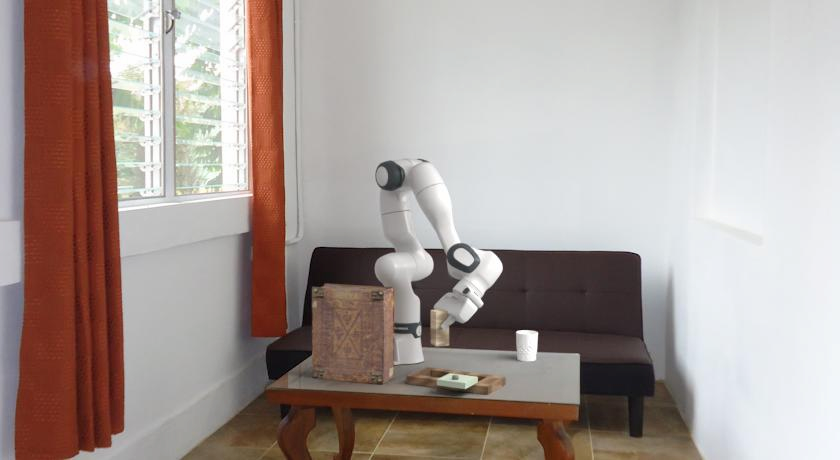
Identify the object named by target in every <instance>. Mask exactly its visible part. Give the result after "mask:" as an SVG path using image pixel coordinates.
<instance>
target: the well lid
mask: <svg viewBox="0 0 840 460" xmlns="http://www.w3.org/2000/svg"><path fill="white" fill-rule="evenodd" d="M476 383H478V377H476V376H468V375H460V374H452V373H449V374H447V375H445V376H443V377H441V378H439V379H437V385H439V386H446V387H454V388H461V389H467V388H468V387H470V386H472V385H474V384H476Z"/></svg>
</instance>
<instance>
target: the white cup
mask: <svg viewBox="0 0 840 460" xmlns="http://www.w3.org/2000/svg"><path fill="white" fill-rule="evenodd" d="M515 338H516V339H515V343H516V354H517V357H516V358H517V361H520V362H527V363H528V362H531V363H532V362H535V361H537V353H538V340H539V332H538V331H536V330H528V329H526V330H525V329H523V330H517V331H516V332H515Z"/></svg>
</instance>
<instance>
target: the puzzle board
mask: <svg viewBox="0 0 840 460" xmlns="http://www.w3.org/2000/svg"><path fill="white" fill-rule="evenodd" d="M449 373H452V374H460V375H468V376H476V377H478V383H476V384H474V385H472V386H470V387H468V388H467V389H461V388H454V387H446V386H439V385H437V379H439V378H441V377H443V376H445V375H447V374H449ZM506 379H507V378H506V376H502V375H493V374H485V373H479V372H471V371H470V372H469V371H463V370H456V369H455V370H454V369H453V370H452V369H447V368H446V369H445V368H438V367H429V366H427V367H424V368H422V369H420V370H417V371H415V372H413V373H410V374H408V375H407V376H406V384H407V385H415V386H419V387H420V386H421V387H428V388H429V387H430V388H437V389H443V390H448V391H449V390H452V391H458V392H463V393H464V392H465V393H472V394H480V395H487V396H488V395H490V394H492V393H493V392H496V391H497V390H498V389H501V388H503V387H504V386H505V385H506V382H507V381H506Z"/></svg>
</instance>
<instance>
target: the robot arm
mask: <svg viewBox="0 0 840 460" xmlns="http://www.w3.org/2000/svg"><path fill="white" fill-rule="evenodd" d="M374 174H375V182H376V184H377V186H378V187H379V188H380V190H379V211H380V219H381V224H382V230H383V236H384V238H385V240H387V241H388V242H389V243H390V244H391V246H393V248H394V251H395V252H390V253H387V254H384V255H382V256H380V257H379V258H377V260H376V261H375V265H374V274H375V276H376V278H377V279H378V281H379V282H380V283H381V284H382V285H383V287H393V288H394V366H398V365H413V364H418V363H422V362H424V361H425V356H424V352H423V347H422V339H421V336H422V321H421V300H420V298H419V296H418V295H417V294H415V292H414V289H413V287H412V282H417V281H421V280H423V279H425V278H427V277H428V276H430V275H431V274H432V272H433V270H434V265H435V264H434V260H433V257H432V256H431V255H430V254H429V253H428V251H426V250H425V249H424V247H423V246H422V245H421V242H420V240H419V238H418V236H417V233H416V229H415V223H414V219H413V213H412V207H411V201H410V197H411V194H412V193H413V195H414V198H415V200H416V202H417V204H418V206H419V208H420V209H421V212H422V213H423V214H424V216H425V217H426V219H427V220H428V222H429V223H430V224H431V227H432V228H433V230H434V231H435V233H436V235H437V238H438V239H439V242H440V244H441V247H442V248H443V251H444V253H445V256H446V264H447V266H446V267H447V268H446V269H447V274H448V277H449V278H450V280H452V281H453V282H454V283H456V285H454V287H453V288H452V292H447V293H445V294H444V295H443V296H442V297H440V299H438V301H437V302H436V303H435V304H434V306H433V310H439V309H443V310H446V311H448V312H447V314H448V315H449V317H448V319H447V320H445V321H444V322H442V323H441V324H440V327H441V328H442V329H443V330H445V329H446V328H447V327H448V326H449V327H450V326H451V325H452V324H454V323H455V322H458V323H460V324H464V323H466V322H468V321H469V320H470V319H471V318H472V317H473V315H474V314H476V312H477V311H478V309H481V308H482V307H483V305H484V302H483V300H482V298H483V296H484V295H485V293H486V291H487V290H488V289H490V288H491V287H492V286H494V284H495V282H497V280H498V278H499V277H500V276H501V274H502V272H503V270H504V269H503V267H504V266H503V262H502V261H501V259H500V257H499V256H498V255H497V254H496V253H495V252H493V251H492V250H482V249H479V248H475V247H473V246H472V245H471V246H470V245H469V244H467V243H464V242H461V240H460V238H459V234H458V233H457V231H456V229H455V224H454V217H453V203H452V199H451V196H450V193H449V189H448V187H447V186H446V182H444V180H443V177H442V176H441V174H440V173H439V171H438V169H437V168H436V167H435V166H434V164H432V163H431V162H429V161H428V160H426V159H422V158H402V159H394V160H385V161H381V163H379V164H378V166H377V167H376V170H375V173H374Z"/></svg>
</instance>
